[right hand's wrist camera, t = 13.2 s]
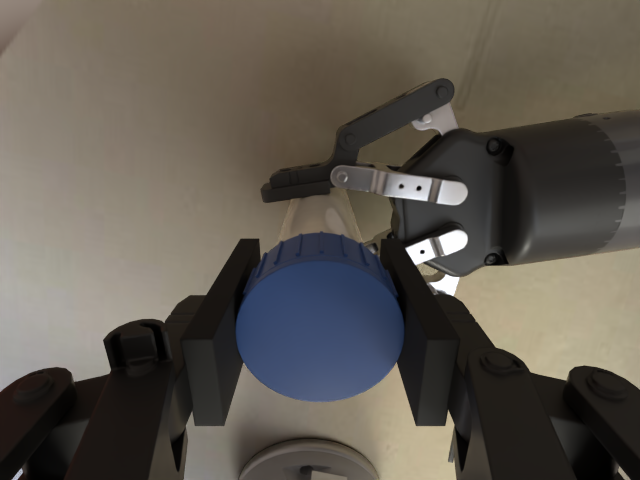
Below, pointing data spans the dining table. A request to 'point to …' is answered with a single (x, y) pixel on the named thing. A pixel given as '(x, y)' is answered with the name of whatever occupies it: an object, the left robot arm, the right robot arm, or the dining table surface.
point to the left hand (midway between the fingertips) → (273, 232)
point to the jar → (321, 216)
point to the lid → (320, 319)
